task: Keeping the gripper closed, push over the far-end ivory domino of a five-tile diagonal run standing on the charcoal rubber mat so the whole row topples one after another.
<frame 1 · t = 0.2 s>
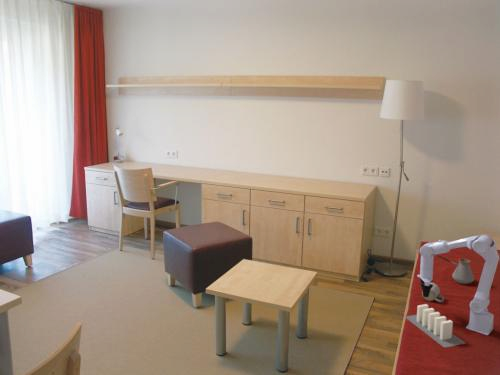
hand: (425, 293, 215), 10 cm above the table, fingers open, 7 cm apart
domino 5: (445, 338, 192), resting on mat
domino 1: (422, 320, 207), resting on mat
coffee pot: (453, 280, 252), on the table
domino 4: (439, 333, 196), resting on mat
ceramic mug: (432, 299, 230), on the table
domino 3: (433, 321, 199), on the mat
mat: (433, 329, 200), on the table
domino 2: (427, 325, 204), resting on mat
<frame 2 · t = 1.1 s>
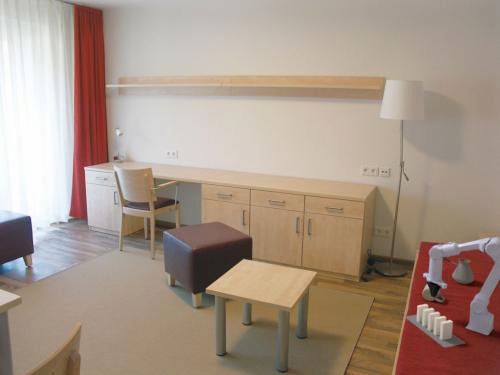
hand: (433, 296, 210), 10 cm above the table, fingers closed
nothing on the table moved.
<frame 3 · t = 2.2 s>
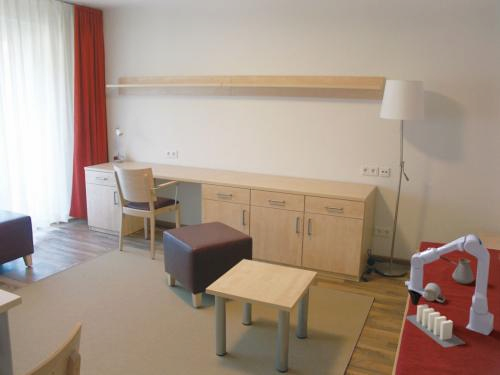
hand: (415, 304, 212), 6 cm above the table, fingers closed
nothing on the table moved.
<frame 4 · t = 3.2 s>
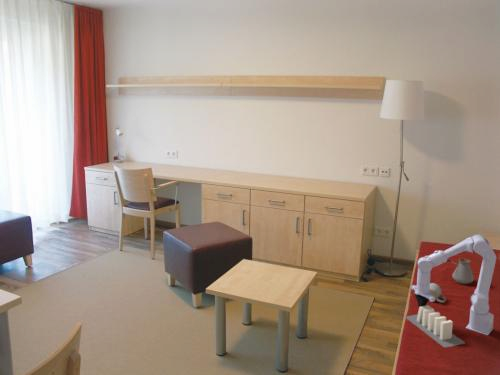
hand: (421, 309, 207), 6 cm above the table, fingers closed
domino 1: (422, 320, 207), point 1 cm above the table, tilted 11°, touching mat
everything else where it was.
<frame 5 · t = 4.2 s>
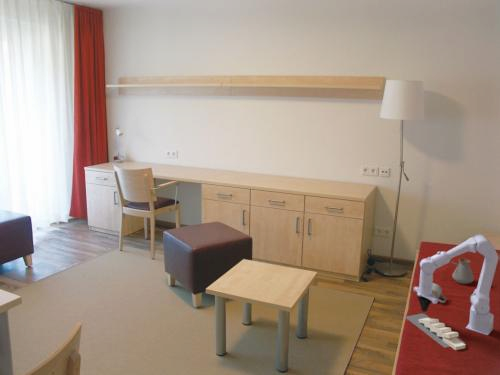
hand: (424, 310, 205), 6 cm above the table, fingers closed
domino 5: (447, 337, 191), point 1 cm above the table, tilted 90°, touching domino 4, mat
domino 1: (423, 320, 206), point 1 cm above the table, tilted 67°, touching domino 2, mat
domino 4: (441, 333, 195), point 1 cm above the table, tilted 66°, touching domino 3, domino 5
domino 3: (440, 329, 195), on the mat, tilted 67°, touching domino 2, domino 4
domino 2: (428, 324, 203), point 1 cm above the table, tilted 67°, touching domino 1, domino 3, mat
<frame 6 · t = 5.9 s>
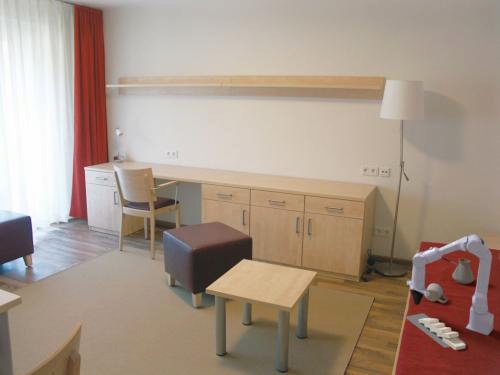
hand: (417, 304, 211), 7 cm above the table, fingers closed
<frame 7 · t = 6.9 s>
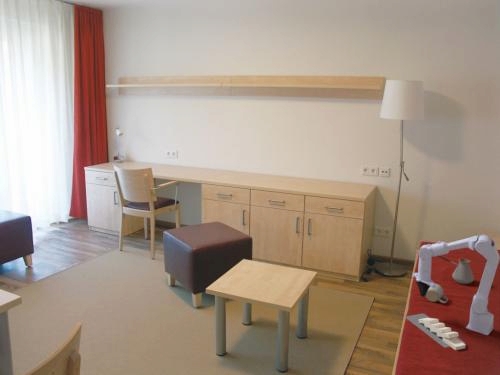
hand: (422, 295, 211), 10 cm above the table, fingers closed
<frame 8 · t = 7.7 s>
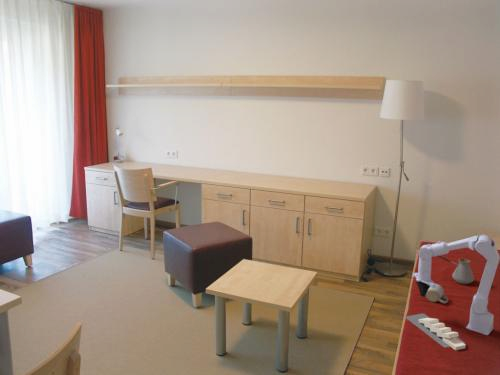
hand: (422, 295, 211), 10 cm above the table, fingers closed
at the end: domino 5 tilted 90°; domino 1 tilted 67° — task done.
